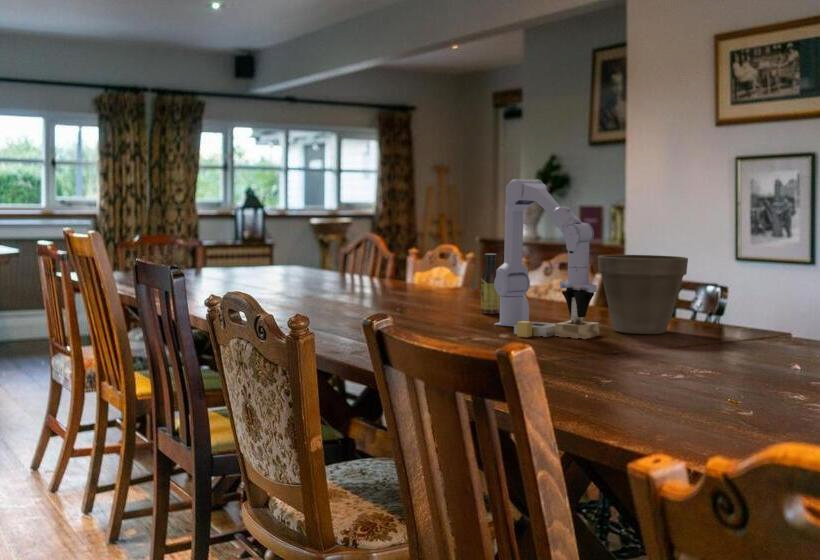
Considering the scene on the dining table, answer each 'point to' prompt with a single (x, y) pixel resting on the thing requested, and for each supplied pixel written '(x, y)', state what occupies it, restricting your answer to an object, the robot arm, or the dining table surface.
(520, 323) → the yellow block
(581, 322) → the drill peg
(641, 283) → the plant pot
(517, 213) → the robot arm
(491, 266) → the sauce bottle
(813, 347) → the dining table surface
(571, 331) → the rack
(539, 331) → the socket block
